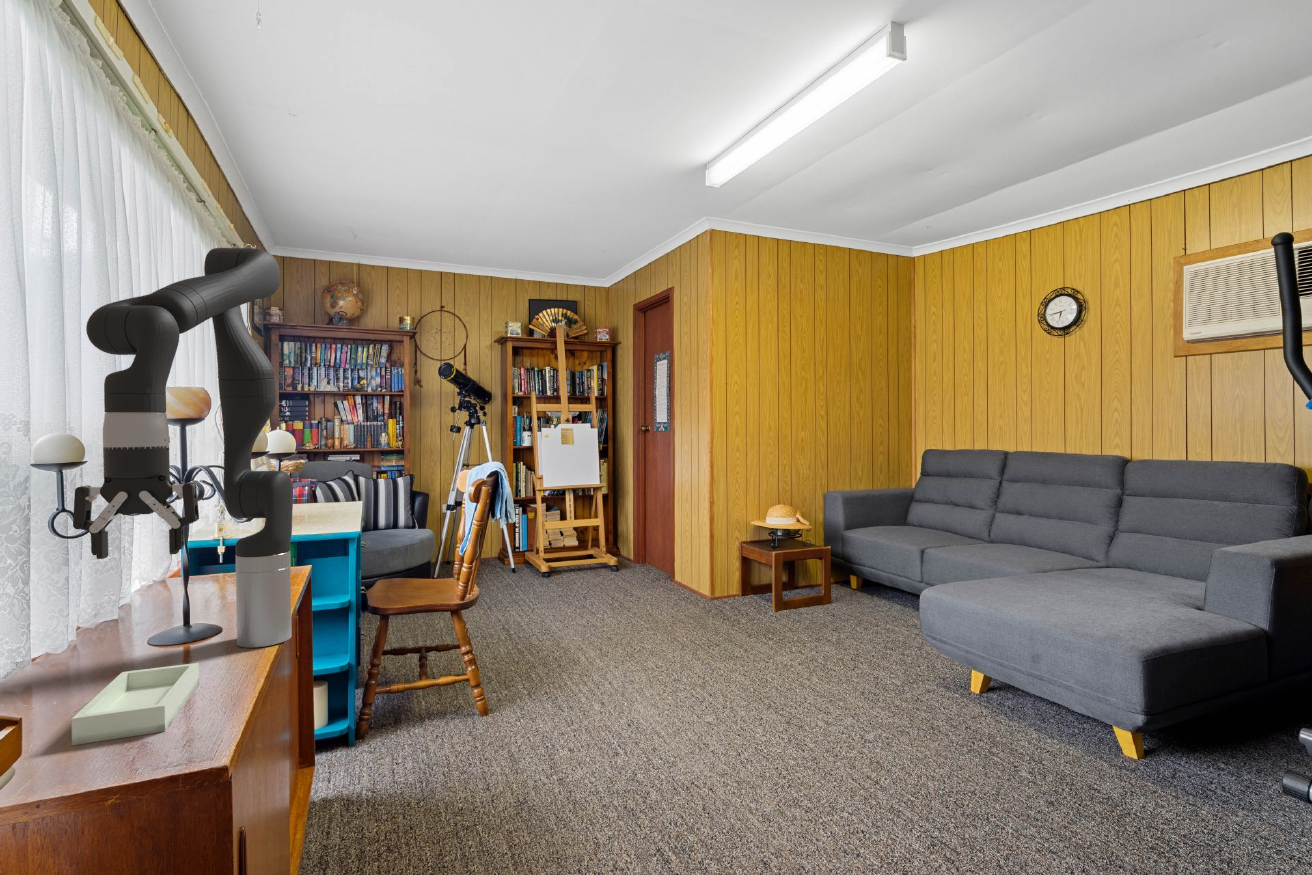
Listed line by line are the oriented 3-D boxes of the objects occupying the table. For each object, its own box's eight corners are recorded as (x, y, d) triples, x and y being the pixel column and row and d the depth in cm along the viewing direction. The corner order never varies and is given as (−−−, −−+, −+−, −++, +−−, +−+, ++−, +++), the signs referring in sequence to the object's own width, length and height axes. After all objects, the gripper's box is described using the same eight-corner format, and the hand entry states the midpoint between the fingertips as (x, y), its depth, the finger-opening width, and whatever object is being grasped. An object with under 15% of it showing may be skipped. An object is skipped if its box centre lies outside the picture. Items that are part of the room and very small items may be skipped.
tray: (122, 694, 102) (122, 671, 102) (199, 684, 106) (198, 662, 106) (71, 745, 85) (71, 718, 85) (165, 731, 89) (164, 705, 89)
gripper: (62, 445, 89) (65, 565, 89) (188, 444, 94) (190, 556, 95) (85, 444, 96) (88, 555, 96) (201, 442, 101) (204, 547, 101)
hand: (139, 555), depth 95 cm, fingers open, 8 cm apart
